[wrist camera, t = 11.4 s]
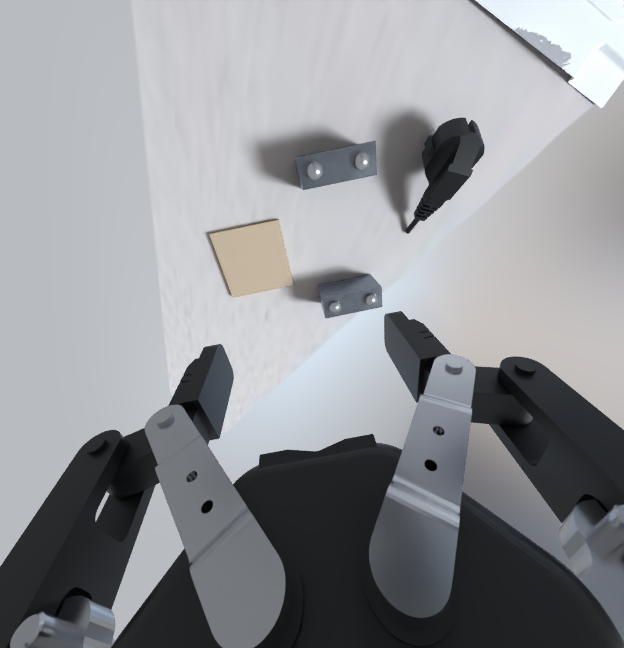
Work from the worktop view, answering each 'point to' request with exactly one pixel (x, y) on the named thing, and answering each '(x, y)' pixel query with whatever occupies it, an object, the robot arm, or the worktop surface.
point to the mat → (253, 258)
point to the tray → (572, 38)
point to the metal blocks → (330, 171)
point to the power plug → (447, 163)
